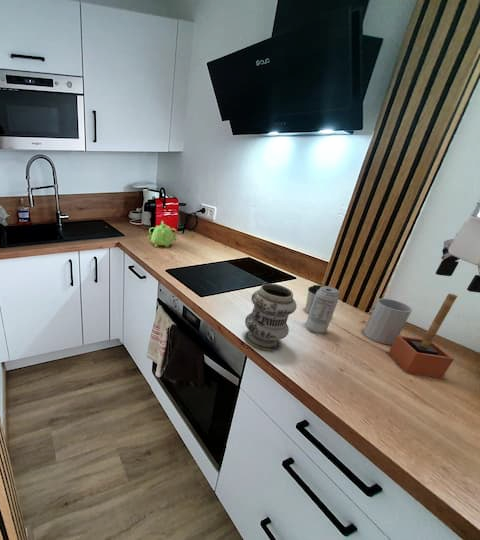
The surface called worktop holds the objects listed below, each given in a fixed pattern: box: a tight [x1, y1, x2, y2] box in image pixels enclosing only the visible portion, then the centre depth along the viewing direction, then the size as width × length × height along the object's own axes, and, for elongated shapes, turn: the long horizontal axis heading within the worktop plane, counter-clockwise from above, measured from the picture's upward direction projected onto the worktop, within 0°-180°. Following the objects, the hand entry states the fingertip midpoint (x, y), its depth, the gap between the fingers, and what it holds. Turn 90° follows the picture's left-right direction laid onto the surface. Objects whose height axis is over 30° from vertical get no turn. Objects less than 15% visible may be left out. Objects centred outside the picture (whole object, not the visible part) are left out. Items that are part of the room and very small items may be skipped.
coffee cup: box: [304, 284, 322, 314], centre depth 104 cm, size 7×7×10 cm
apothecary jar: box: [244, 283, 297, 352], centre depth 85 cm, size 12×12×18 cm
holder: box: [387, 335, 455, 379], centre depth 79 cm, size 8×8×6 cm
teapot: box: [147, 220, 178, 248], centre depth 172 cm, size 16×14×13 cm
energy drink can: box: [305, 285, 340, 334], centre depth 93 cm, size 6×6×15 cm
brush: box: [409, 293, 458, 355], centre depth 76 cm, size 4×4×22 cm
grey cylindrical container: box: [363, 297, 413, 345], centre depth 90 cm, size 8×8×12 cm
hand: (458, 282), depth 70 cm, fingers open, 9 cm apart
